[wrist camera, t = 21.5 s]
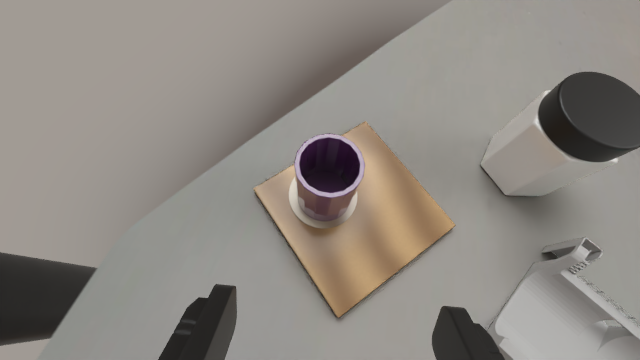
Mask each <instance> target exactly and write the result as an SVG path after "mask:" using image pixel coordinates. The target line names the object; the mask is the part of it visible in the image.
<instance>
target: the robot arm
mask: <svg viewBox="0 0 640 360" xmlns="http://www.w3.org/2000/svg"><path fill="white" fill-rule="evenodd" d="M236 318H237V305H236V286H230V285H219V284H216V285H215V286H214V287H213V289H212V291H211V293H210V295H209V297H208V298H198V299H196V300H195V301H194V302H193V303H192V304H191V305H190V306H189V307H187V309H186V311H185V313H184V314H183V316H182V318H181V320H180V323H178V325H177V327H176V329H175V330H174V334H172V336H171V338H170V339H169V341H168V343H167V345H166V347H165V348H164V350H163V352H162V354H161V356H160V357H159V359H158V360H224V359H225V356H226V354H227V351H228V348H229V345H230V342H231V339H232V336H233V333H234V329H235V325H236ZM432 346H433V351H434V354H435V357H436V359H437V360H505V359H504V357H503V355H502V353H500V350H499V348H498V347H497V345H496V343H495V341H494V340H493V338H492V336H491V335H490V334H489V333H488V332H487V331H486V330H485V329H484V328H483V327H482V326H481V325H480V324H475V323H473V321H472V320H471V318H470V316H469V314H468V312H467V311H466V309H465V308H461V307H450V306H443V307H442V308H441V310H440V313H439V316H438V319H437V322H436V325H435V328H434V331H433V335H432Z"/></svg>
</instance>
